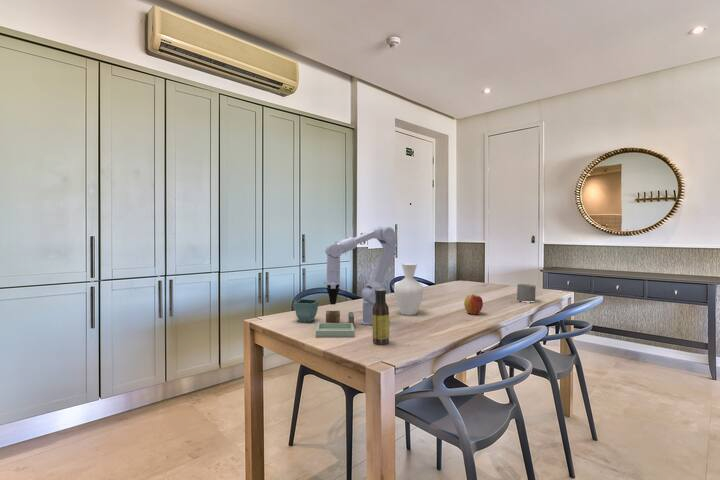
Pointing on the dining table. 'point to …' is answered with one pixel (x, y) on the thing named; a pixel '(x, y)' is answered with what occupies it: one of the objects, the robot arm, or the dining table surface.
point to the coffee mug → (526, 292)
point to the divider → (351, 318)
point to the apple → (473, 304)
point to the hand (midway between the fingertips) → (333, 302)
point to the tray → (335, 330)
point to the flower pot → (306, 309)
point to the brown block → (332, 316)
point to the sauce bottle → (380, 318)
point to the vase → (408, 291)
